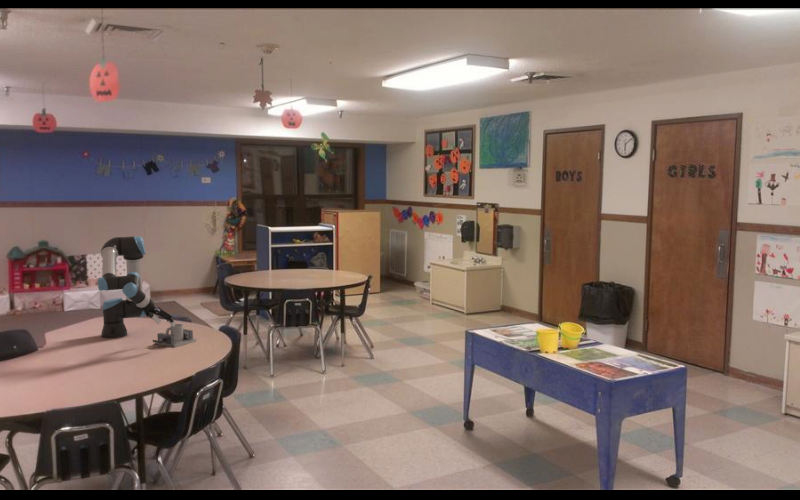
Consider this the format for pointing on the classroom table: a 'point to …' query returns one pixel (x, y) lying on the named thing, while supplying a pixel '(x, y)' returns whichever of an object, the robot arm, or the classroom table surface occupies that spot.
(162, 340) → the vise
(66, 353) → the classroom table surface
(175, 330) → the cup
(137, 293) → the robot arm
